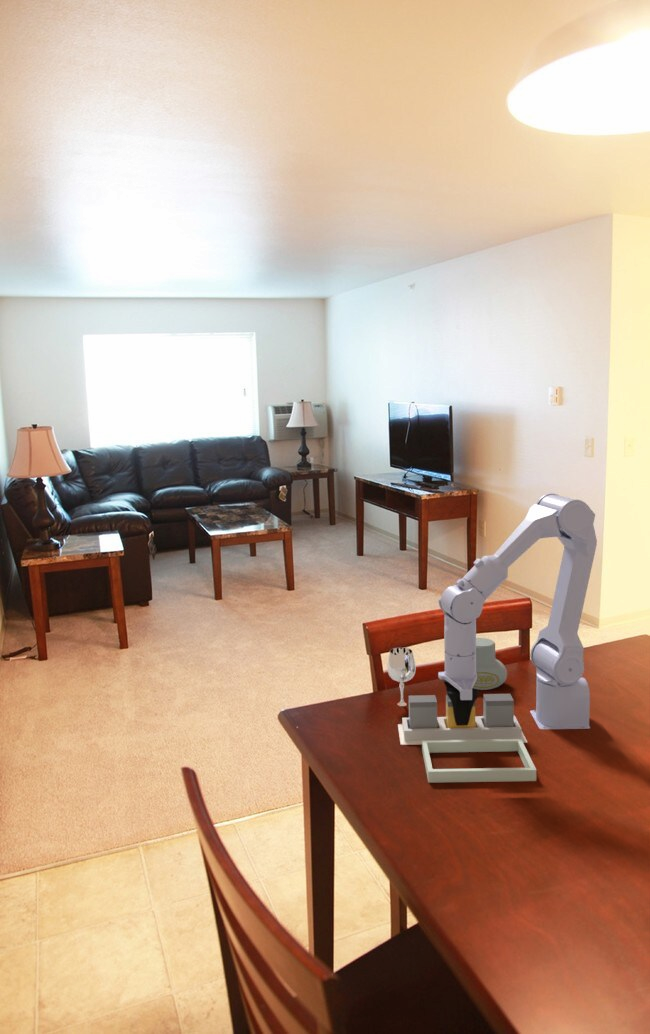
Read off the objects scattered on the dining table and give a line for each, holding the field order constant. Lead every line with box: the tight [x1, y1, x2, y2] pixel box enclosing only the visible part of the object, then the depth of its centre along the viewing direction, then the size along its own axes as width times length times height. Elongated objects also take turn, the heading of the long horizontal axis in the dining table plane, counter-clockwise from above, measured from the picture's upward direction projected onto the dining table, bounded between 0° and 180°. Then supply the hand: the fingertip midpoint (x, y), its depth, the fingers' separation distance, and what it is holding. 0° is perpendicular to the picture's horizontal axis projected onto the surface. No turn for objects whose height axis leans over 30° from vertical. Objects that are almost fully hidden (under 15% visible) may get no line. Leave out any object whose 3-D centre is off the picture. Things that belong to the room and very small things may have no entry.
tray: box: [421, 739, 537, 784], centre depth 122 cm, size 18×11×2 cm, turn 88°
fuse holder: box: [397, 715, 529, 746], centre depth 133 cm, size 23×8×3 cm, turn 88°
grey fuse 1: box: [408, 694, 438, 729], centre depth 133 cm, size 5×3×7 cm, turn 88°
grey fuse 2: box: [482, 693, 515, 727], centre depth 133 cm, size 5×3×7 cm, turn 88°
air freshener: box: [472, 637, 508, 691], centre depth 155 cm, size 11×8×10 cm
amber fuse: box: [445, 694, 476, 728], centre depth 133 cm, size 5×3×7 cm, turn 88°
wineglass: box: [386, 646, 417, 707], centre depth 146 cm, size 6×6×12 cm
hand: (460, 720), depth 133 cm, fingers closed on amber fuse, 3 cm apart
